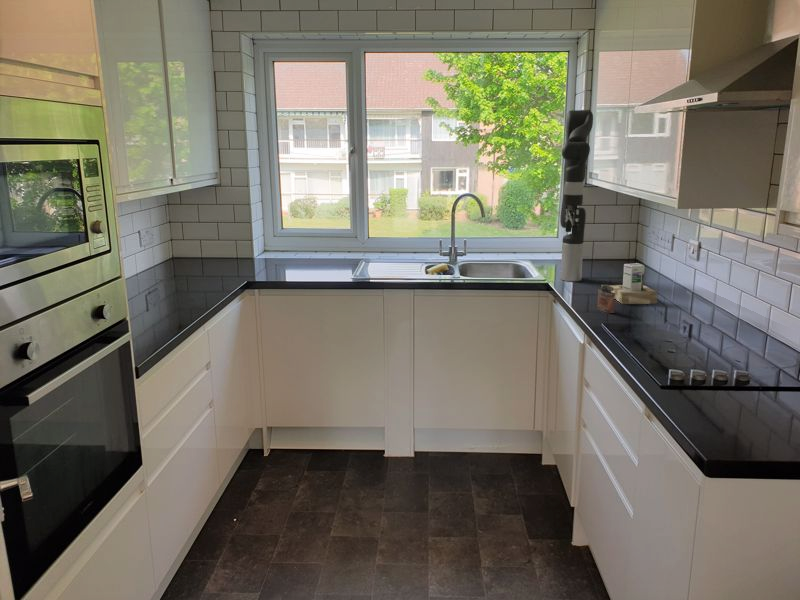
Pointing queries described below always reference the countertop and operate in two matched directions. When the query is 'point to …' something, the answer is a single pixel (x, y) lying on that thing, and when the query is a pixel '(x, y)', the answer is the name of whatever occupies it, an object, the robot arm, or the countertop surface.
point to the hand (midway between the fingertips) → (571, 233)
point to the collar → (635, 295)
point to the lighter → (606, 299)
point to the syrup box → (633, 277)
